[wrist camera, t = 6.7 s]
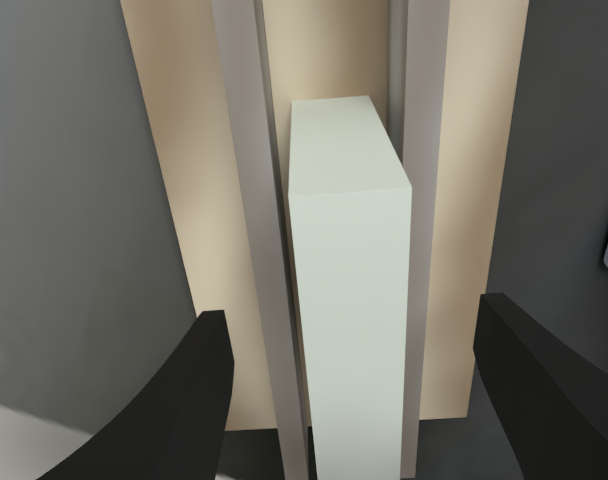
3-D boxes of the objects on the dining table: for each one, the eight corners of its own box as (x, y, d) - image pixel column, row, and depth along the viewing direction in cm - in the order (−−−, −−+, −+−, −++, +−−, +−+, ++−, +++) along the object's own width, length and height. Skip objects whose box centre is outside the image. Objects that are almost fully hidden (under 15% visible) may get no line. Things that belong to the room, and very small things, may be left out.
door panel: (368, 95, 16) (411, 187, 10) (370, 329, 21) (399, 482, 15) (292, 101, 16) (288, 196, 10) (312, 332, 21) (318, 487, 15)
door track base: (535, -143, 13) (615, -172, 10) (460, 400, 25) (486, 473, 21) (106, -104, 14) (43, -120, 10) (226, 414, 25) (216, 488, 22)
